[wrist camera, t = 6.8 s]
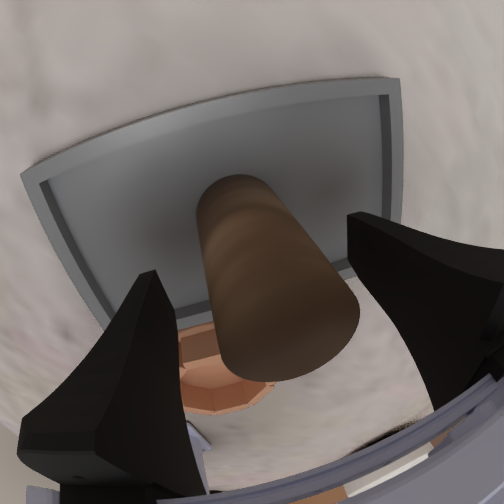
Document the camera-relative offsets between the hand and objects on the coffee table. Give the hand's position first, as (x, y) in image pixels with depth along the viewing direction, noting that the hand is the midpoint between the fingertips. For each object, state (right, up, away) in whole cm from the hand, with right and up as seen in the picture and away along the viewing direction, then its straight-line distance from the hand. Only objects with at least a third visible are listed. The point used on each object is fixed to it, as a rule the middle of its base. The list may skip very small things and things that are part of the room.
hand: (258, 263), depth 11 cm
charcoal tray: (-1, +3, +4) cm, 5 cm away
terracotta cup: (-3, -7, +10) cm, 13 cm away
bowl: (+26, -40, +38) cm, 61 cm away
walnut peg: (-1, +2, +4) cm, 4 cm away
